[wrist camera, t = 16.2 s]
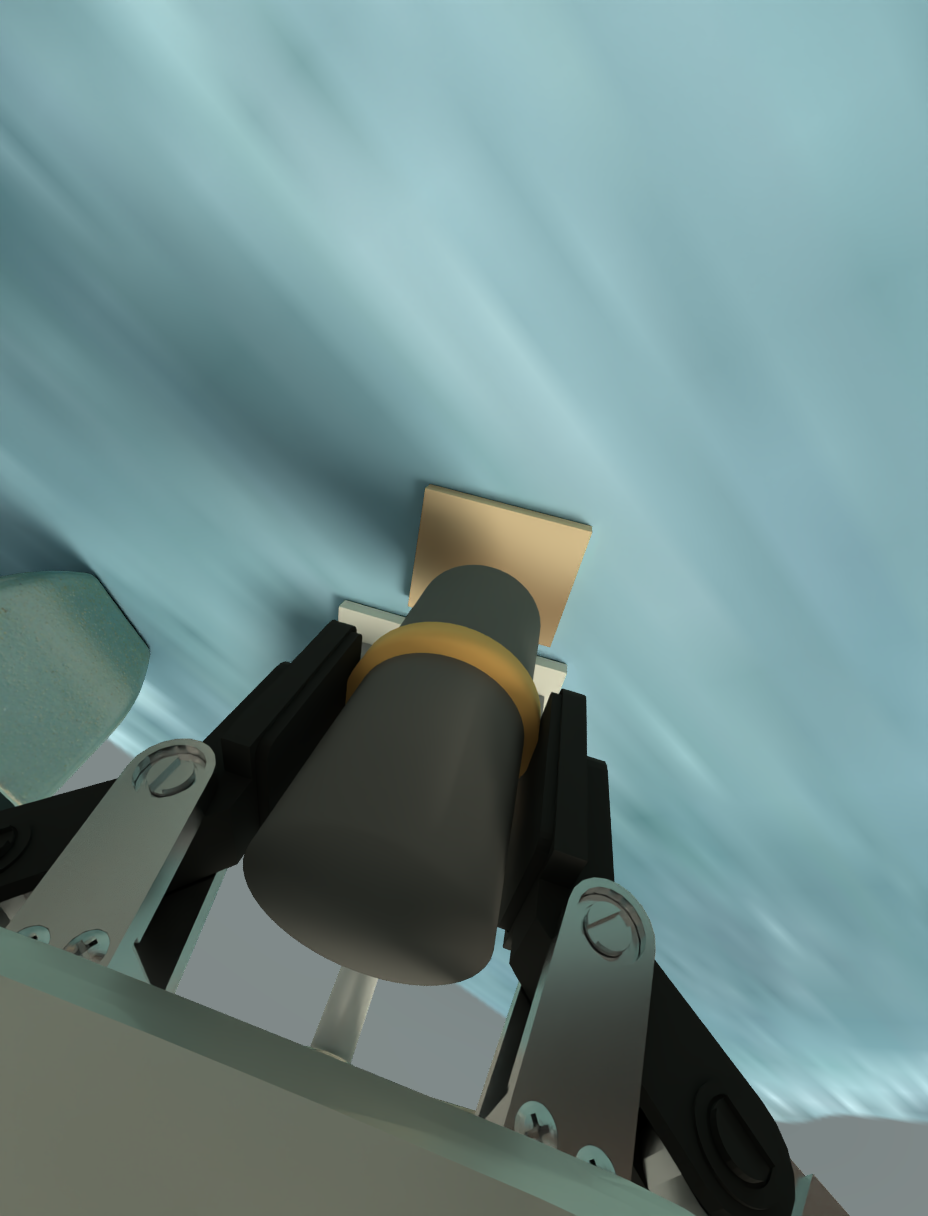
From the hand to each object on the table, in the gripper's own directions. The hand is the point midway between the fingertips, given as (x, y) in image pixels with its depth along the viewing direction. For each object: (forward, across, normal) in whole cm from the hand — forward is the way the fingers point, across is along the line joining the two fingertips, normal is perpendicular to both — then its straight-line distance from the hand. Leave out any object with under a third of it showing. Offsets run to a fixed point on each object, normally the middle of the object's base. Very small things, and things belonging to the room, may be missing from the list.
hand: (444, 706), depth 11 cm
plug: (+4, 0, 0) cm, 4 cm away
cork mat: (+8, 0, 0) cm, 8 cm away
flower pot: (+8, +20, +9) cm, 24 cm away
